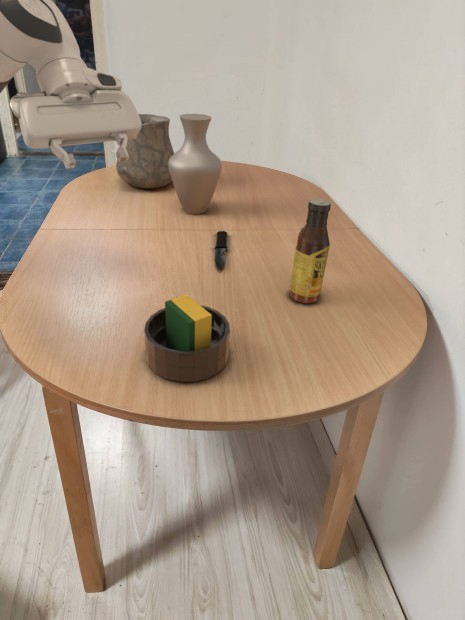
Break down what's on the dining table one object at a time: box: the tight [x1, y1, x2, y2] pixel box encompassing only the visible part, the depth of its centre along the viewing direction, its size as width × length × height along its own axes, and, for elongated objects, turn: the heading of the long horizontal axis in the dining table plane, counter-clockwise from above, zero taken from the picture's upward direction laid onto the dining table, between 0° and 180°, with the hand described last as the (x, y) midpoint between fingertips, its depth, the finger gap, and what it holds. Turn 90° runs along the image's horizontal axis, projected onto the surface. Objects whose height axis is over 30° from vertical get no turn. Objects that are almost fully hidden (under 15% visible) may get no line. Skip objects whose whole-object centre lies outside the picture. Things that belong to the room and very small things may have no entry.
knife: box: [214, 230, 228, 272], centre depth 106 cm, size 21×1×3 cm
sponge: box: [164, 294, 212, 351], centre depth 71 cm, size 4×7×9 cm, turn 37°
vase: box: [168, 113, 223, 215], centre depth 122 cm, size 14×14×25 cm
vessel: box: [115, 113, 175, 189], centre depth 141 cm, size 22×22×20 cm
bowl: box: [143, 304, 231, 383], centre depth 72 cm, size 13×13×6 cm
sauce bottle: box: [289, 197, 332, 304], centre depth 86 cm, size 6×6×20 cm
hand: (98, 163), depth 77 cm, fingers open, 8 cm apart
